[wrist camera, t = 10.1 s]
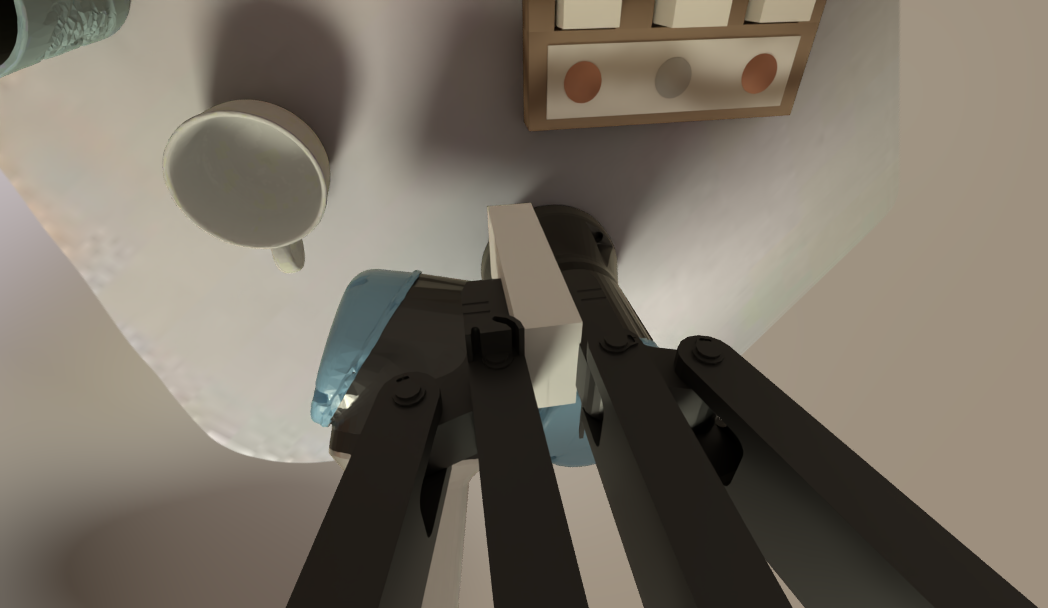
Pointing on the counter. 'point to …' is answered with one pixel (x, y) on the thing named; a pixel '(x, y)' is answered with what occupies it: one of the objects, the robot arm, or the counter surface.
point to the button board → (659, 68)
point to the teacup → (250, 177)
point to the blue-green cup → (53, 28)
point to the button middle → (691, 13)
